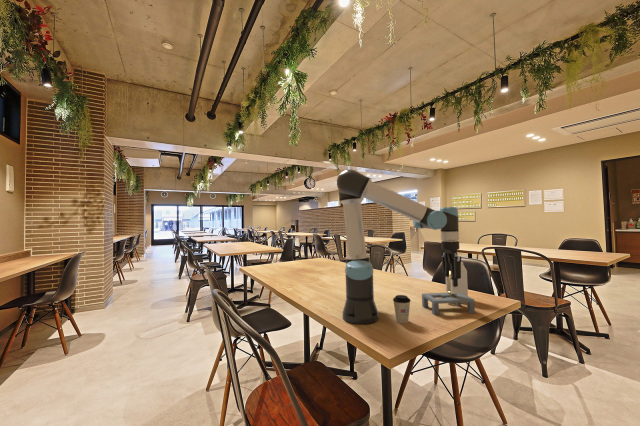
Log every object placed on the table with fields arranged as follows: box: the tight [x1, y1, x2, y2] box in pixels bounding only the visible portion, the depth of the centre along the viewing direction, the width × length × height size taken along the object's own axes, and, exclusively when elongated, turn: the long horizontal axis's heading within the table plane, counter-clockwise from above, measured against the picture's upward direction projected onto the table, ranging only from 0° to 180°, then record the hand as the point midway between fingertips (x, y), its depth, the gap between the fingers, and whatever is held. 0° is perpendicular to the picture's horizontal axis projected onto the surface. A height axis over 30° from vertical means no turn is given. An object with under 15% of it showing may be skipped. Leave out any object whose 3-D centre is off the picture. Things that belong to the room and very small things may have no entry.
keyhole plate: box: [421, 292, 476, 316], centre depth 123 cm, size 18×12×6 cm, turn 94°
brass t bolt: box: [447, 271, 458, 307], centre depth 123 cm, size 4×4×15 cm
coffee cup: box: [392, 294, 412, 324], centre depth 111 cm, size 7×7×10 cm
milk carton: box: [446, 261, 469, 297], centre depth 138 cm, size 7×7×19 cm
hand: (451, 292), depth 123 cm, fingers closed on brass t bolt, 4 cm apart
